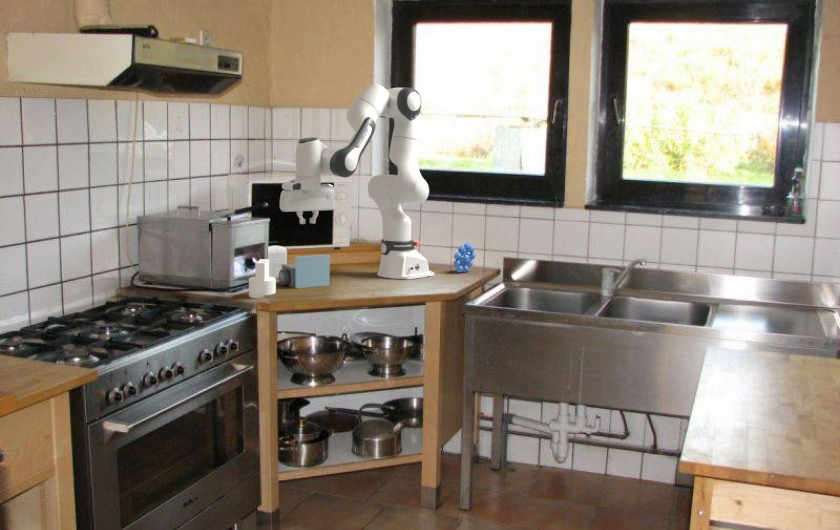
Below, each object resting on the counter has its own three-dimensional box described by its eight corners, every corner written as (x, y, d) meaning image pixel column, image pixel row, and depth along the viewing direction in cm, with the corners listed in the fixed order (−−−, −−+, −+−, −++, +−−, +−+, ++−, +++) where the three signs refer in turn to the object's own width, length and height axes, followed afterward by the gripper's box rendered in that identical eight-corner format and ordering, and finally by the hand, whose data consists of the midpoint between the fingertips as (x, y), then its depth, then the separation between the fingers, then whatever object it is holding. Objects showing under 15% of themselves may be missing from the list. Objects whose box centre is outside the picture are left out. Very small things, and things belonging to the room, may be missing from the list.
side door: (328, 286, 331) (328, 254, 329) (329, 286, 330) (329, 254, 328) (295, 289, 324) (295, 256, 322) (296, 289, 323) (296, 257, 321)
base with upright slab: (273, 299, 310) (273, 263, 308) (246, 298, 310) (246, 262, 308) (277, 293, 319) (277, 259, 317) (251, 292, 319) (251, 258, 317)
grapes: (466, 269, 379) (467, 240, 377) (478, 272, 374) (479, 242, 372) (446, 272, 371) (447, 242, 369) (458, 274, 366) (459, 244, 364)
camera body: (316, 283, 339) (317, 259, 338) (328, 287, 332) (328, 263, 331) (276, 286, 331) (276, 262, 329) (286, 291, 323) (287, 266, 322)
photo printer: (281, 276, 352) (282, 244, 350) (288, 277, 349) (288, 245, 347) (259, 279, 345) (259, 246, 343) (265, 280, 342) (265, 247, 340)
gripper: (330, 183, 333) (329, 221, 335) (277, 184, 322) (277, 223, 324) (338, 184, 328) (337, 223, 330) (285, 185, 317) (285, 225, 319)
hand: (307, 223), depth 327 cm, fingers open, 3 cm apart
